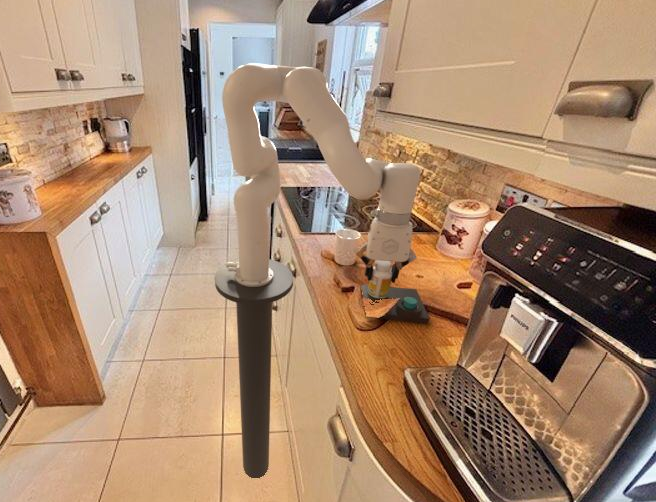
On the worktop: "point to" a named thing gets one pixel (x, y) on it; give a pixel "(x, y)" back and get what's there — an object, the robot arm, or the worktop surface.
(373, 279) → the supplement bottle
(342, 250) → the white cup
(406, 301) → the button
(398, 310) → the scale
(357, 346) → the worktop surface
